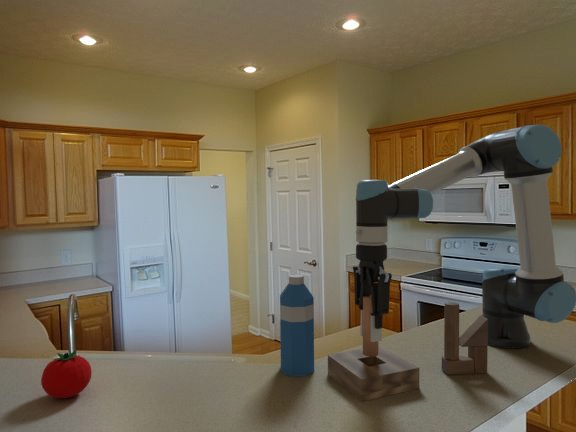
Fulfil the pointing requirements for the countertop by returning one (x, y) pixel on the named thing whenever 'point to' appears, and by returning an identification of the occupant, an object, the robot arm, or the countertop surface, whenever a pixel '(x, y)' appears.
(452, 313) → the wooden block structure
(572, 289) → the robot arm
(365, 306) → the pin
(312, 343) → the water bottle
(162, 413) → the countertop surface
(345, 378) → the socket block
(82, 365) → the tomato
